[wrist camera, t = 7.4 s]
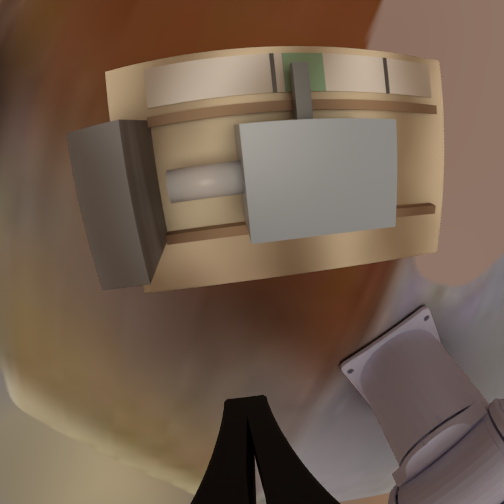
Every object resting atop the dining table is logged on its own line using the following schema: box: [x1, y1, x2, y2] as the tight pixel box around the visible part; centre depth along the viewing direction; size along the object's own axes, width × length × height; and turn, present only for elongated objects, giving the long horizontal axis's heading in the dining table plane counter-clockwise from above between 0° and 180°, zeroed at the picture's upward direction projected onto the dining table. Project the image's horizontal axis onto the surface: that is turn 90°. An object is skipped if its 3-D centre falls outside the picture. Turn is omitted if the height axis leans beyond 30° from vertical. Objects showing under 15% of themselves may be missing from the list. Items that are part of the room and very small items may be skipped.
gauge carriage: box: [166, 62, 397, 244], centre depth 12 cm, size 9×7×4 cm
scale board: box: [67, 46, 444, 293], centre depth 13 cm, size 18×12×6 cm, turn 96°
